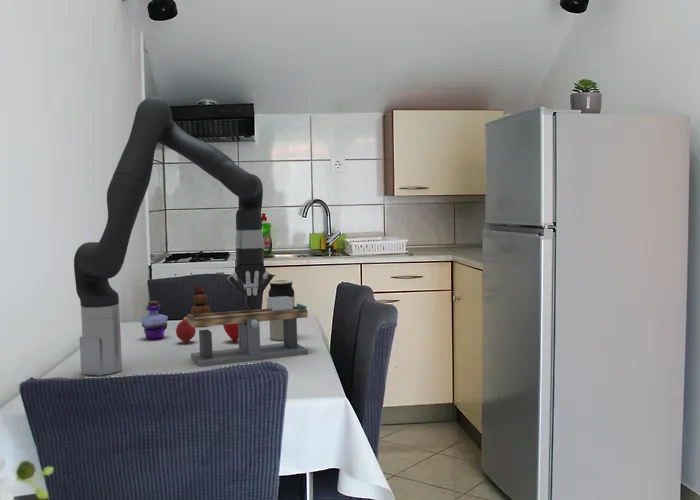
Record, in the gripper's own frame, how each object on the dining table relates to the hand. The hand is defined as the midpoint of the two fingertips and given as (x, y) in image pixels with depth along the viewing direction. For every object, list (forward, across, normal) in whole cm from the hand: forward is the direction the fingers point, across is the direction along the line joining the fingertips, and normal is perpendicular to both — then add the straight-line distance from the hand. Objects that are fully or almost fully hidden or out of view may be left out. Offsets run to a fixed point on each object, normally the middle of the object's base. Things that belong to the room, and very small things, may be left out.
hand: (251, 308), depth 187 cm
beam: (+3, -1, 0) cm, 3 cm away
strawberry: (+13, 0, +21) cm, 25 cm away
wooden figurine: (+13, -4, +54) cm, 56 cm away
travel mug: (+13, +15, +19) cm, 27 cm away
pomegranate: (+13, -14, +27) cm, 33 cm away
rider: (+2, +8, 0) cm, 8 cm away
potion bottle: (+13, -22, +39) cm, 47 cm away
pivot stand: (+13, -1, 0) cm, 13 cm away
